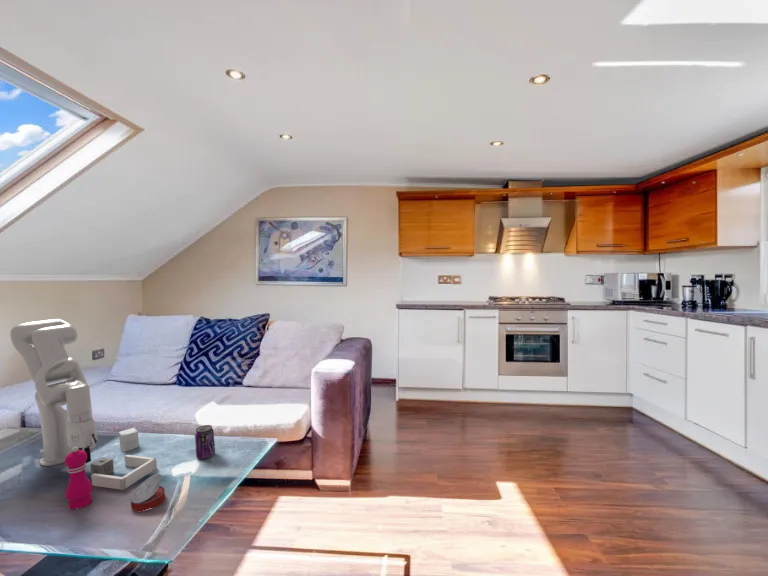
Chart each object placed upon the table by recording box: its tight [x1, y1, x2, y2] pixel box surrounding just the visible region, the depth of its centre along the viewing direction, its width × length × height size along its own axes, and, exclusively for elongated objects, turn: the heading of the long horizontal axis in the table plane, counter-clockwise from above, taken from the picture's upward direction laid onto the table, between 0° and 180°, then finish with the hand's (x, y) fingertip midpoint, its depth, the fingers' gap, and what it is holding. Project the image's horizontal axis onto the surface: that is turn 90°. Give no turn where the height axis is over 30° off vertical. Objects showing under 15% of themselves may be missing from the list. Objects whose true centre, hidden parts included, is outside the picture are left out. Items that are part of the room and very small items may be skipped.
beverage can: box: [194, 424, 216, 460], centre depth 164 cm, size 7×7×12 cm
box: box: [90, 454, 158, 491], centre depth 150 cm, size 14×15×4 cm
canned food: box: [130, 473, 166, 513], centre depth 134 cm, size 11×10×10 cm
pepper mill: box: [64, 447, 93, 510], centre depth 133 cm, size 7×7×20 cm
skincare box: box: [118, 427, 140, 453], centre depth 174 cm, size 6×6×7 cm
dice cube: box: [90, 457, 115, 476], centre depth 153 cm, size 5×5×5 cm
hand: (85, 462), depth 154 cm, fingers closed
